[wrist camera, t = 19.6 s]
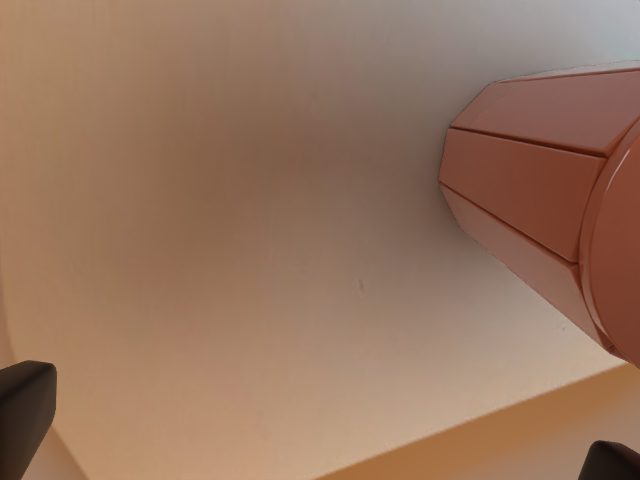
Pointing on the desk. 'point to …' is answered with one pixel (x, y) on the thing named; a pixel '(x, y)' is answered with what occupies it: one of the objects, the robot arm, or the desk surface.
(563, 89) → the fluted orange cylinder
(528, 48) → the desk surface
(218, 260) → the desk surface
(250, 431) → the desk surface
